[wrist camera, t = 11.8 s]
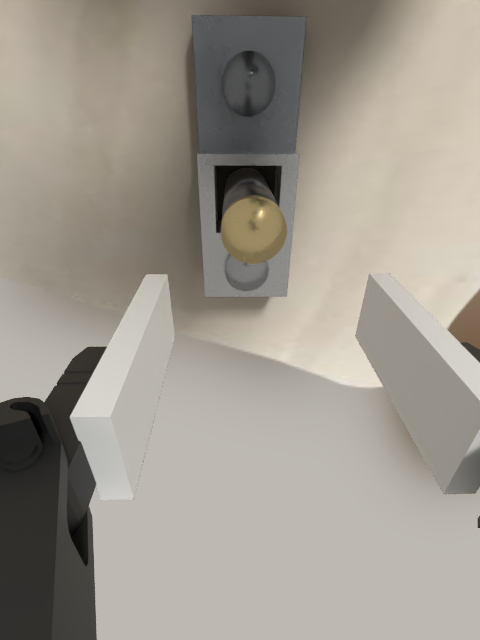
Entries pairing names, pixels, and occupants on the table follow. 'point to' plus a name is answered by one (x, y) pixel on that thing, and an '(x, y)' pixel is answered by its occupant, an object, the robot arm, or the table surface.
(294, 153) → the metal block with stud
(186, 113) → the table surface
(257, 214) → the pin
